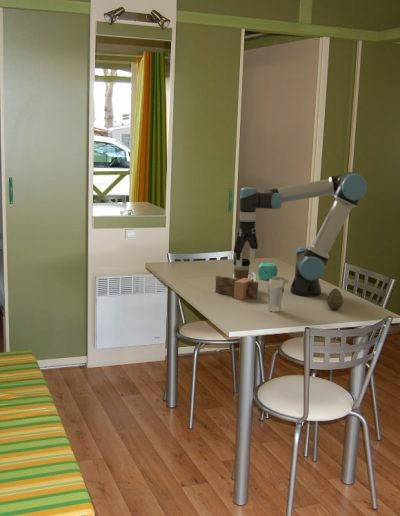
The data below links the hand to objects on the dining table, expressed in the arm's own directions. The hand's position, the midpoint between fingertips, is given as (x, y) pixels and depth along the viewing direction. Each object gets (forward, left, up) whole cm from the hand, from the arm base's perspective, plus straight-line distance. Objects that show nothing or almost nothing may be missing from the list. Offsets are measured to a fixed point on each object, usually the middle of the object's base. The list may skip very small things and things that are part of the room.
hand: (245, 264), depth 330 cm
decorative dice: (+8, -43, -16) cm, 47 cm away
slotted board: (+4, 0, -16) cm, 16 cm away
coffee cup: (+9, -14, -16) cm, 23 cm away
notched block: (0, 0, -16) cm, 16 cm away
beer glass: (-23, +13, -16) cm, 31 cm away
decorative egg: (-44, -6, -16) cm, 47 cm away
